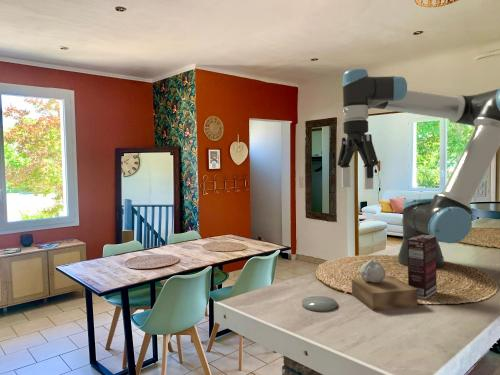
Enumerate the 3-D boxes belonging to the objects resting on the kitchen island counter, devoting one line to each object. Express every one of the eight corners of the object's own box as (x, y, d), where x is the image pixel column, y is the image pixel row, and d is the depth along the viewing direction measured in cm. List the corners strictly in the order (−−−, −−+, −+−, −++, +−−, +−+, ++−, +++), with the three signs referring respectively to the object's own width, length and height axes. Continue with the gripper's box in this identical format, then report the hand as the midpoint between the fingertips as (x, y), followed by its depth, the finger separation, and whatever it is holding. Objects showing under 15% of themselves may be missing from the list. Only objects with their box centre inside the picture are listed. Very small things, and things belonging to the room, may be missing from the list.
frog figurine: (389, 280, 104) (367, 267, 108) (391, 262, 100) (368, 250, 104) (376, 294, 101) (354, 280, 106) (377, 276, 97) (354, 263, 101)
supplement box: (419, 288, 110) (419, 234, 109) (437, 292, 106) (437, 235, 105) (406, 296, 104) (406, 238, 103) (425, 300, 100) (424, 240, 99)
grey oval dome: (327, 297, 105) (327, 294, 105) (343, 308, 96) (343, 305, 96) (296, 301, 103) (296, 298, 103) (310, 313, 94) (310, 310, 94)
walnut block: (391, 293, 108) (391, 276, 108) (417, 308, 96) (417, 289, 96) (352, 297, 106) (351, 279, 106) (373, 313, 94) (373, 293, 94)
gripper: (326, 125, 131) (328, 186, 132) (367, 115, 107) (368, 190, 108) (346, 125, 133) (347, 185, 134) (390, 115, 108) (391, 189, 110)
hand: (356, 188), depth 121 cm, fingers open, 13 cm apart
